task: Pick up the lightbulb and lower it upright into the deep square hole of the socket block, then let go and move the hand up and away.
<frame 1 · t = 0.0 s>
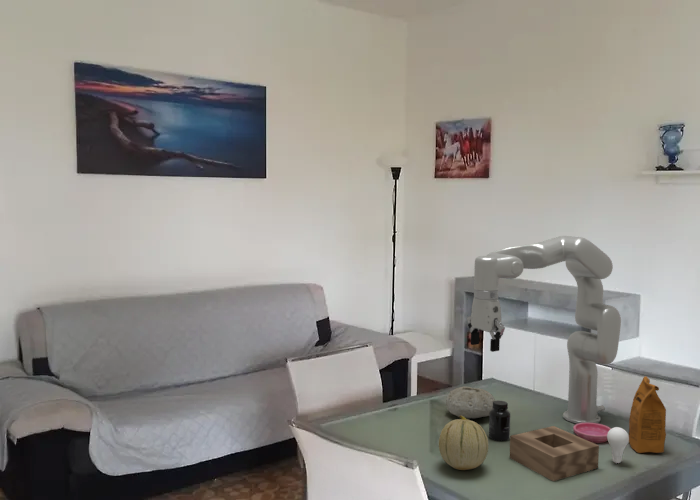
hand: (484, 347, 211), 31 cm above the table, tool pointing down, fingers open, 9 cm apart
grey rounded lump: (470, 416, 238), on the table
saucer: (592, 438, 218), on the table
socket block: (552, 463, 198), on the table
lightbulb: (616, 463, 198), on the table
coffee package: (645, 448, 210), on the table
supplement bottle: (499, 438, 218), on the table
cantaloupe: (463, 468, 194), on the table
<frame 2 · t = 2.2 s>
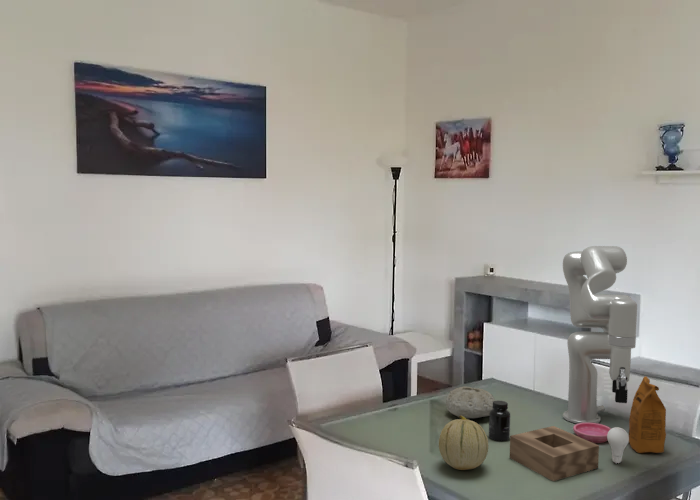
hand: (619, 397, 196), 20 cm above the table, tool pointing down, fingers open, 9 cm apart
nothing on the table moved.
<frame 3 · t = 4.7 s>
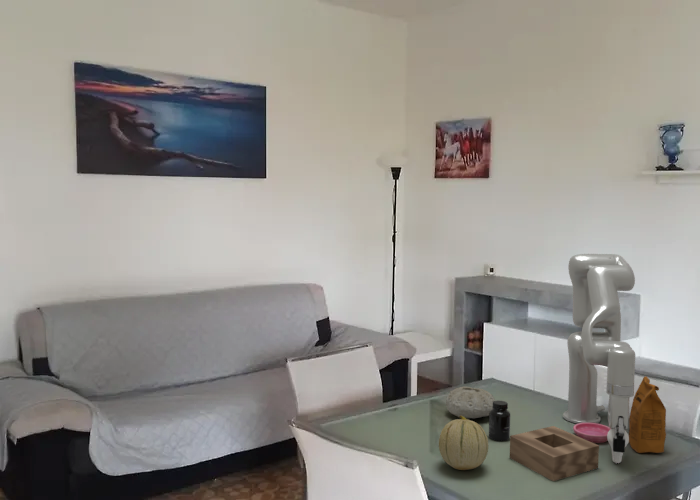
hand: (617, 446, 197), 5 cm above the table, tool pointing down, fingers closed on lightbulb, 5 cm apart
lightbulb: (616, 463, 198), on the table, touching gripper
everything else where it was.
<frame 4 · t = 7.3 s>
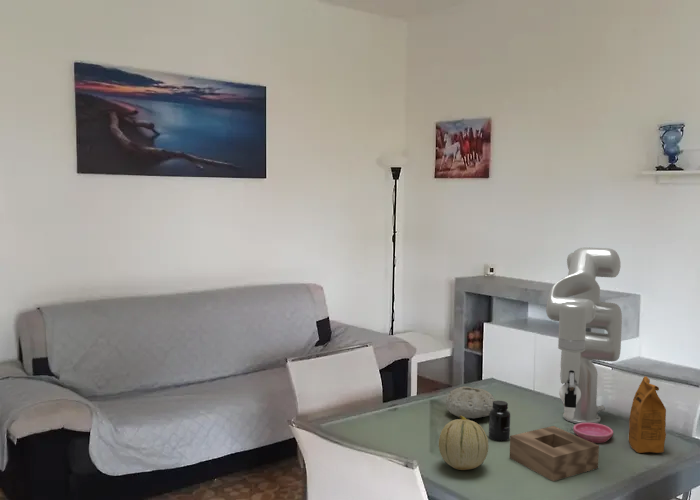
hand: (569, 403, 196), 19 cm above the table, tool pointing down, fingers closed on lightbulb, 5 cm apart
lightbulb: (569, 420, 196), point 13 cm above the table, touching gripper
everything else where it was.
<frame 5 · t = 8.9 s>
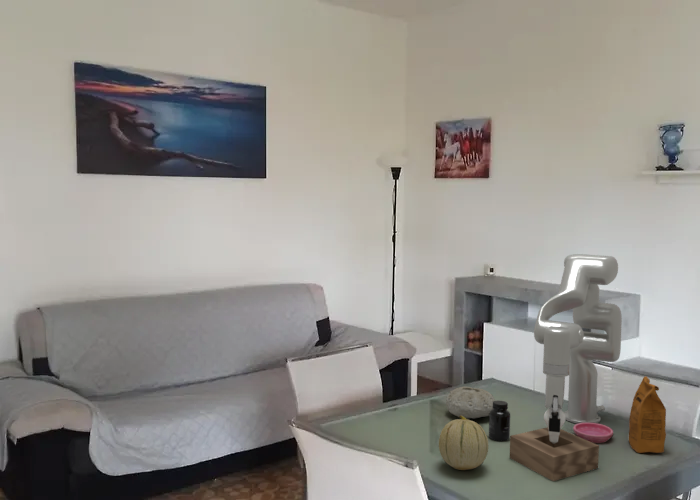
hand: (554, 426, 197), 11 cm above the table, tool pointing down, fingers closed on lightbulb, 5 cm apart
lightbulb: (553, 444, 197), point 6 cm above the table, touching gripper
everything else where it was.
when the fingers open (8 cm above the table, at t = 10.0 s): lightbulb drops 3 cm, resting in socket block.
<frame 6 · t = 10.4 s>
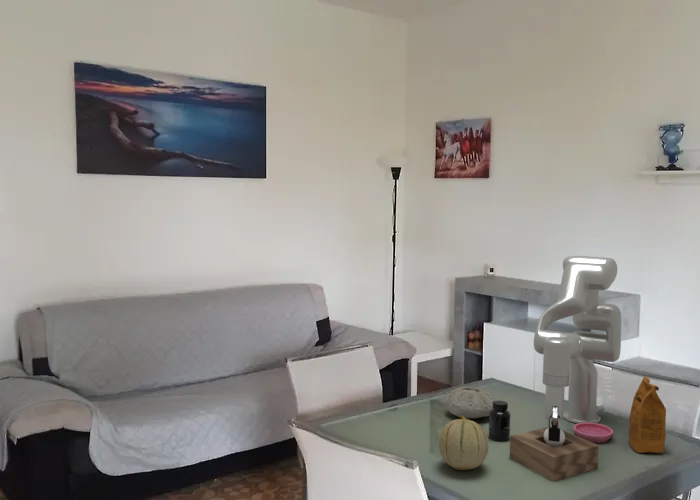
hand: (553, 434, 197), 9 cm above the table, tool pointing down, fingers open, 9 cm apart
lightbulb: (553, 463, 198), resting in socket block
everything else where it was.
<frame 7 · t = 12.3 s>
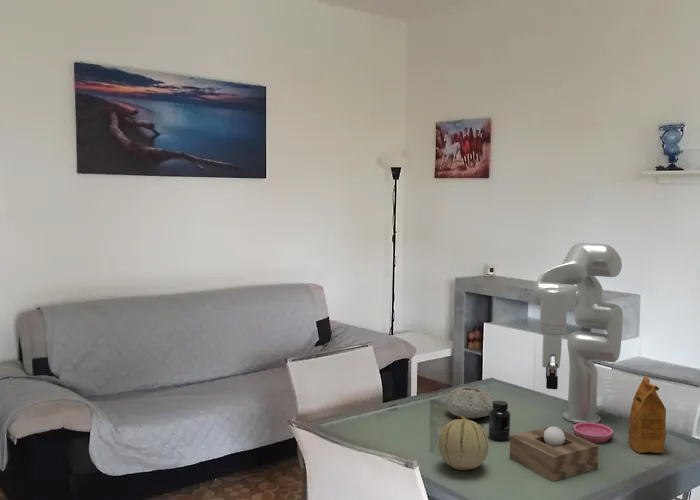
hand: (551, 383, 200), 23 cm above the table, tool pointing down, fingers open, 9 cm apart
nothing on the table moved.
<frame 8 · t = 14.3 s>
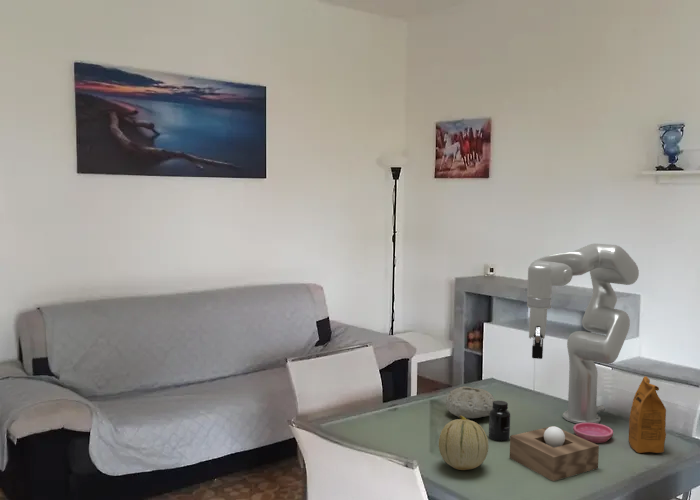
hand: (537, 354, 214), 28 cm above the table, tool pointing down, fingers open, 9 cm apart
nothing on the table moved.
at the end: lightbulb 0.6 cm off-centre on the socket block, point 0.0 cm above the socket block's base; lightbulb tilted 0°; the gripper is holding nothing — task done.
